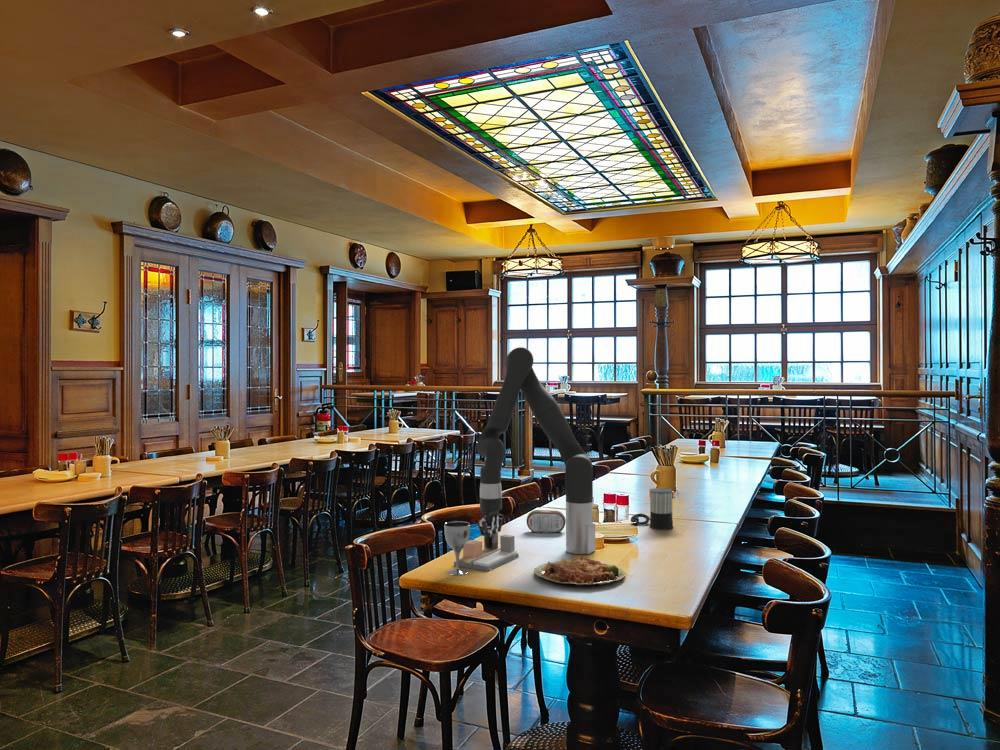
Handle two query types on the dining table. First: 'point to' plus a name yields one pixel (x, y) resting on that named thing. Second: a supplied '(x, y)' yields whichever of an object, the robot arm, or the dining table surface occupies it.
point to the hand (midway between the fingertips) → (491, 546)
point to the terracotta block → (472, 549)
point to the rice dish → (579, 571)
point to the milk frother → (658, 510)
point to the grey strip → (499, 552)
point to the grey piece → (483, 549)
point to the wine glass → (457, 541)
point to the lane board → (485, 566)
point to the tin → (545, 521)
